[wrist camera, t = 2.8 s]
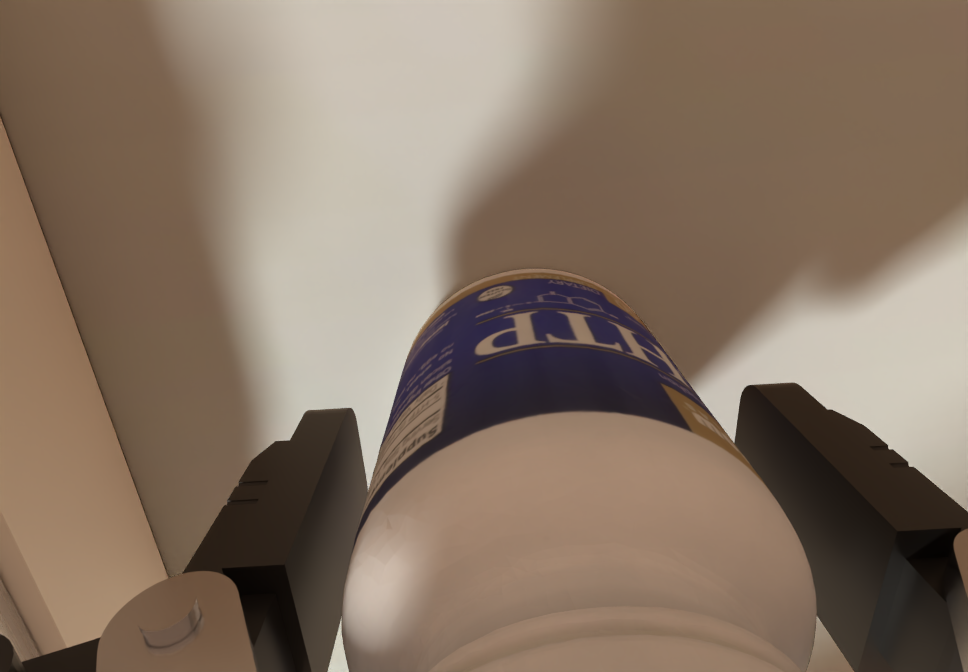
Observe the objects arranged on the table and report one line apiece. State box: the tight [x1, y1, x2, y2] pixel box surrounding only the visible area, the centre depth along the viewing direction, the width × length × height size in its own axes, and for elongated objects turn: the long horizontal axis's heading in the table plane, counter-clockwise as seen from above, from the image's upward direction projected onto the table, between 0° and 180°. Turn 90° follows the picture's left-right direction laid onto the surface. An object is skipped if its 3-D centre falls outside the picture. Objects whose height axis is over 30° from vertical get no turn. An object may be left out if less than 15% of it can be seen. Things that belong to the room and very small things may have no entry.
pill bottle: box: [342, 268, 817, 672], centre depth 8 cm, size 5×5×9 cm
